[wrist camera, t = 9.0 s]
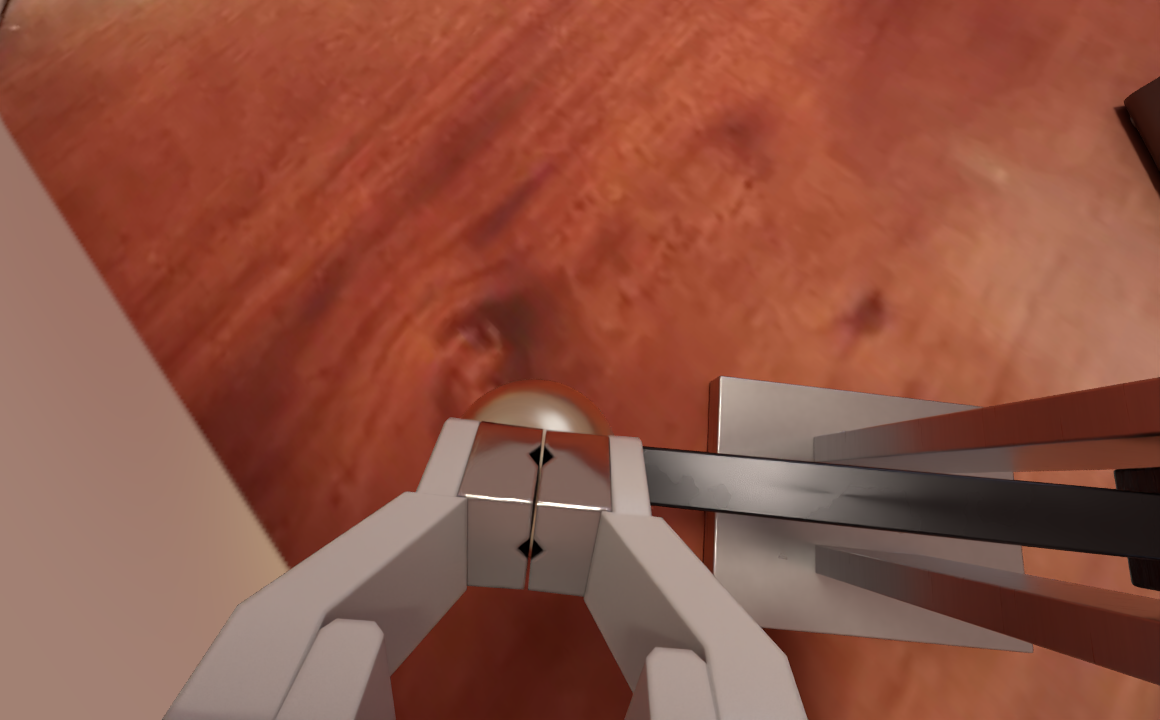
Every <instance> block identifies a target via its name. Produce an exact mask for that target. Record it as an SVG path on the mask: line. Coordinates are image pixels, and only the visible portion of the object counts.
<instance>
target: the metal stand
mask: <svg viewBox="0 0 1160 720" xmlns="http://www.w3.org/2000/svg"><path fill="white" fill-rule="evenodd" d="M708 452H712V453H723V454H734V455H745V456H756V457H767V458H778V459H789V460H800V461H811V462H822V463H833V464H844V465H855V466H866V467H877V468H888V469H899V470H910V471H921V472H932V473H943V474H954V475H965V476H976V477H987V478H998V479H1009V480H1014V475H1013V472H1026V471H1066V470H1107V469H1126V468H1144V467H1160V377H1158V378H1152V379H1146V380H1140V381H1135V382H1129V383H1123V384H1117V385H1111V386H1105V387H1100V388H1094V389H1088V390H1082V391H1076V392H1071V393H1065V394H1059V395H1053V396H1047V397H1042V398H1036V399H1030V400H1024V401H1018V402H1012V403H1007V404H1001V405H995V406H989V407H980V406H971V405H963V404H954V403H946V402H938V401H929V400H921V399H912V398H904V397H895V396H887V395H878V394H870V393H861V392H853V391H845V390H836V389H828V388H819V387H811V386H802V385H794V384H785V383H777V382H769V381H760V380H752V379H743V378H735V377H726V376H719V377H717V378H716V379H714V380H713V381H711V382H710V404H709V430H708ZM703 564H704V565H705V566H706V567H707V568H708V569H709V570H710V572H711V573H712V574H713V575H714V576H715V577H716V578H717V579H718V580H719V581H720V583H721V584H722V585H723V586H724V587H725V588H726V589H727V590H728V591H729V593H730V594H731V595H732V596H733V597H734V598H735V599H736V600H737V601H738V603H739V604H740V605H741V606H742V607H743V608H744V609H745V610H746V611H747V613H748V614H749V615H750V616H751V617H752V618H753V619H754V620H755V621H756V623H757V624H758V625H759V626H760V627H761V628H770V629H780V630H791V631H802V632H812V633H823V634H834V635H844V636H855V637H865V638H876V639H887V640H897V641H908V642H919V643H929V644H940V645H951V646H961V647H972V648H982V649H993V650H1004V651H1014V652H1025V653H1033V644H1034V645H1037V646H1040V647H1044V648H1047V649H1050V650H1053V651H1056V652H1059V653H1062V654H1065V655H1068V656H1071V657H1074V658H1077V659H1080V660H1083V661H1086V662H1089V663H1093V664H1096V665H1099V666H1102V667H1105V668H1108V669H1111V670H1114V671H1117V672H1120V673H1123V674H1126V675H1129V676H1132V677H1135V678H1138V679H1141V680H1145V681H1148V682H1151V683H1154V684H1157V685H1160V599H1154V598H1149V597H1144V596H1138V595H1133V594H1128V593H1122V592H1117V591H1112V590H1106V589H1101V588H1096V587H1090V586H1085V585H1080V584H1074V583H1069V582H1064V581H1058V580H1053V579H1048V578H1042V577H1037V576H1032V575H1026V574H1025V573H1024V564H1023V555H1022V546H1019V545H1010V544H1001V543H992V542H982V541H973V540H964V539H955V538H946V537H937V536H927V535H918V534H909V533H900V532H891V531H882V530H872V529H863V528H854V527H845V526H836V525H827V524H817V523H808V522H799V521H790V520H781V519H772V518H762V517H753V516H744V515H735V514H726V513H717V512H707V511H705V536H704V563H703Z"/></svg>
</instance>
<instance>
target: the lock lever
mask: <svg viewBox="0 0 1160 720" xmlns="http://www.w3.org/2000/svg"><path fill="white" fill-rule="evenodd" d="M461 419H467V420H476V421H480V422H482V421H486V422H494V423H502V424H509V425H517V426H525V427H532V428H540V429H543V438H542V450H541V458H540V466H539V477H538V486H537V495H536V503H535V511H534V519H533V527H532V534H531V542H530V551H529V557H531V554H532V545H533V535H534V527H535V518H536V510H537V501H538V493H539V484H540V476H541V467H542V460H543V452H544V443H545V436H546V430H556V431H565V432H575V433H585V434H595V435H604V436H608V435H614V434H613V431H612V429H611V427H610V425H609V423H608V421H607V419H606V418H605V416H604V415H603V414H602V412H601V411H600V410H599V409H598V408H597V407H596V405H595V404H594V403H593V402H592V401H590V400H589V399H588V398H587V397H585V396H584V395H583V394H582V393H580V392H578V391H577V390H575V389H573V388H571V387H569V386H567V385H564V384H562V383H558V382H554V381H550V380H542V379H524V380H517V381H513V382H509V383H506V384H504V385H501V386H499V387H497V388H495V389H493V390H491V391H489V392H487V393H486V394H484V395H483V396H482V397H480V398H479V399H478V400H476V401H475V402H474V403H473V404H472V405H471V406H470V407H469V408H468V409H467V411H466V412H465V413H464V414H463V415H462V417H461ZM642 448H643V455H644V462H645V470H646V477H647V484H648V491H649V499H650V505H652V506H662V507H671V508H680V509H689V510H698V511H707V512H717V513H726V514H735V515H744V516H753V517H762V518H772V519H781V520H790V521H799V522H808V523H817V524H827V525H836V526H845V527H854V528H863V529H872V530H882V531H891V532H900V533H909V534H918V535H927V536H937V537H946V538H955V539H964V540H973V541H982V542H992V543H1001V544H1010V545H1019V546H1028V547H1037V548H1047V549H1056V550H1065V551H1074V552H1083V553H1092V554H1102V555H1111V556H1120V557H1128V564H1129V570H1130V576H1131V582H1132V584H1133V585H1134V586H1137V587H1140V588H1145V589H1151V590H1156V591H1160V467H1144V468H1126V469H1116V470H1114V477H1115V483H1116V489H1108V488H1097V487H1086V486H1075V485H1064V484H1053V483H1042V482H1031V481H1020V480H1009V479H998V478H987V477H976V476H965V475H954V474H943V473H932V472H921V471H910V470H899V469H888V468H877V467H866V466H855V465H844V464H833V463H822V462H811V461H800V460H789V459H778V458H767V457H756V456H745V455H734V454H723V453H712V452H701V451H690V450H679V449H668V448H657V447H646V446H642Z"/></svg>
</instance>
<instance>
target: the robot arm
mask: <svg viewBox="0 0 1160 720" xmlns="http://www.w3.org/2000/svg"><path fill="white" fill-rule="evenodd" d="M542 438H543V429H540V428H532V427H525V426H517V425H509V424H502V423H494V422H486V421H482V422H480V421H476V420H467V419H459V418H451V417H450V418H449V419H448V420H447V421H446V422H445V423H444V425H443V428H442V430H441V432H440V435H439V437H438V440H437V442H436V444H435V447H434V449H433V452H432V454H431V457H430V459H429V461H428V464H427V466H426V469H425V471H424V473H423V476H422V478H421V481H420V483H419V485H418V488H417V490H416V492H404V493H402V494H401V495H399V496H398V497H396V498H395V499H393V500H392V501H391V502H389V503H388V504H386V505H385V506H383V507H382V508H380V509H379V510H377V511H376V512H374V513H373V514H371V515H370V516H368V517H367V518H365V519H364V520H362V521H361V522H360V523H358V524H357V525H355V526H354V527H352V528H351V529H349V530H348V531H346V532H345V533H343V534H342V535H340V536H339V537H337V538H336V539H334V540H333V541H331V542H330V543H329V544H327V545H326V546H324V547H323V548H321V549H320V550H318V551H317V552H315V553H314V554H312V555H311V556H309V557H308V558H306V559H305V560H303V561H302V562H300V563H299V564H298V565H296V566H295V567H293V568H292V569H290V570H289V571H287V572H286V573H284V574H283V575H281V576H280V577H278V578H277V579H276V580H274V581H273V582H271V583H270V584H268V585H267V586H265V587H264V588H262V589H261V590H259V591H258V592H256V593H255V594H253V595H252V596H250V597H249V598H247V599H246V600H244V601H243V602H242V603H240V604H239V605H237V607H236V609H235V610H234V611H233V613H232V614H231V616H230V617H229V619H228V621H227V622H226V624H225V625H224V626H223V628H222V629H221V631H220V632H219V634H218V636H217V637H216V638H215V640H214V642H213V643H212V645H211V646H210V648H209V649H208V651H207V652H206V654H205V655H204V657H203V658H202V660H201V661H200V663H199V664H198V666H197V667H196V669H195V670H194V672H193V673H192V675H191V676H190V678H189V679H188V681H187V682H186V684H185V685H184V687H183V688H182V690H181V691H180V693H179V694H178V696H177V697H176V699H175V700H174V702H173V703H172V705H171V706H170V708H169V710H168V711H167V713H166V714H165V716H164V717H163V719H162V720H396V716H395V709H394V702H393V695H392V687H391V680H390V676H391V675H392V674H393V673H394V672H395V671H396V669H397V668H398V667H399V666H400V665H401V664H402V663H403V661H404V660H405V659H406V658H407V657H408V656H409V655H410V653H411V652H412V651H413V650H414V649H415V648H416V647H417V646H418V644H419V643H420V642H421V641H422V640H423V639H424V638H425V636H426V635H427V634H428V633H429V632H430V631H431V630H432V628H433V627H434V626H435V625H436V624H437V623H438V622H439V620H440V619H441V618H442V617H443V616H444V615H445V614H446V613H447V611H448V610H449V609H450V608H451V607H452V606H453V605H454V603H455V602H456V601H457V600H458V599H459V598H460V597H461V595H462V594H463V593H464V592H465V591H466V590H467V586H478V587H493V588H508V589H524V588H525V580H526V573H527V566H528V558H529V551H530V542H531V534H532V527H533V519H534V511H535V503H536V495H537V486H538V477H539V466H540V458H541V450H542ZM528 590H533V591H541V592H549V593H557V594H565V595H574V596H582V597H584V601H585V603H586V605H587V607H588V609H589V611H590V612H591V614H592V616H593V618H594V620H595V622H596V624H597V626H598V628H599V630H600V631H601V633H602V635H603V637H604V639H605V641H606V643H607V645H608V647H609V649H610V650H611V652H612V654H613V656H614V658H615V660H616V662H617V664H618V666H619V667H620V669H621V671H622V673H623V675H624V677H625V679H626V681H627V683H628V685H629V686H630V688H631V690H632V692H633V697H632V699H631V702H630V705H629V708H628V711H627V714H626V716H625V719H624V720H808V719H807V716H806V713H805V710H804V707H803V704H802V701H801V698H800V695H799V692H798V689H797V686H796V683H795V680H794V677H793V673H792V670H791V667H790V664H789V661H788V658H787V656H786V655H785V654H784V652H783V651H782V650H781V649H780V648H779V647H778V646H777V645H776V644H775V643H774V641H773V640H772V639H771V638H770V637H769V636H768V635H767V634H766V633H765V631H764V630H763V629H762V628H761V627H760V626H759V625H758V624H757V623H756V621H755V620H754V619H753V618H752V617H751V616H750V615H749V614H748V613H747V611H746V610H745V609H744V608H743V607H742V606H741V605H740V604H739V603H738V601H737V600H736V599H735V598H734V597H733V596H732V595H731V594H730V593H729V591H728V590H727V589H726V588H725V587H724V586H723V585H722V584H721V583H720V581H719V580H718V579H717V578H716V577H715V576H714V575H713V574H712V573H711V572H710V570H709V569H708V568H707V567H706V566H705V565H704V564H703V563H702V562H701V560H700V559H699V558H698V557H697V556H696V555H695V554H694V553H693V552H692V550H691V549H690V548H689V547H688V546H687V545H686V544H685V543H684V542H683V540H682V539H681V538H680V537H679V536H678V535H677V534H676V533H675V532H674V530H673V529H672V528H671V527H670V526H669V525H668V524H667V523H666V522H665V520H664V519H663V518H661V517H652V513H651V506H650V499H649V491H648V484H647V477H646V470H645V462H644V455H643V448H642V442H641V440H640V439H639V438H638V437H626V436H614V435H608V436H604V435H595V434H585V433H575V432H565V431H556V430H546V436H545V443H544V452H543V460H542V467H541V476H540V484H539V493H538V501H537V510H536V518H535V527H534V535H533V545H532V554H531V563H530V574H529V585H528Z"/></svg>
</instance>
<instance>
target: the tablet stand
mask: <svg viewBox="0 0 1160 720" xmlns="http://www.w3.org/2000/svg"><path fill="white" fill-rule="evenodd" d="M1124 104H1125V106H1126V108H1127V110H1128V112H1129V114H1130V120H1131V122H1132V124H1133V126H1134V127H1136V128H1137V129H1138V131H1139V133H1140V135H1141V137H1142V139H1143V141H1144V143H1145V144H1146V146H1147V148H1148V150H1149V152H1150V154H1151V156H1152V158H1153V160H1154V162H1155V164H1156V166H1157V167H1158V169H1159V171H1160V77H1158V78H1157V79H1155V80H1153V81H1152V82H1150V83H1148V84H1147V85H1145V86H1143V87H1142V88H1140V89H1139V90H1137V91H1135V92H1134V93H1132V94H1131V95H1130V96H1128V97H1127V98H1126V99H1125V101H1124Z"/></svg>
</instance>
